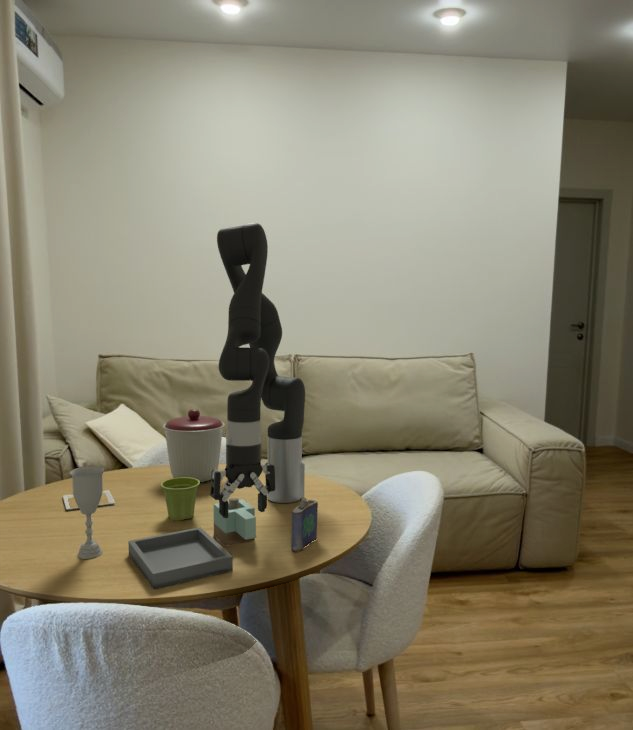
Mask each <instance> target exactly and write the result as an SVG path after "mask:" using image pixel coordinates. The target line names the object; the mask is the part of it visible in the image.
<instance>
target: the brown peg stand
mask: <svg viewBox="0 0 633 730" xmlns="http://www.w3.org/2000/svg"><path fill="white" fill-rule="evenodd" d="M228 501H229V510H232V509H238V508H239V498H237V497H229V498H228ZM213 537H215V539H217V540H218V541H219V542H220V543H221V544H223V545H224V546H225V547H229V546H233V545H238V544H244V543H248V542H252V541H255V540H256V538H252V539H247V540H245V539H244V538H243V537H242V536H241V535H239V534H238V533H237V532H236V531H234V532H229V533H225V532H224V531H222V530H221V529H220V528H219V527H218V526H217V525H215V524H214V523H213Z"/></svg>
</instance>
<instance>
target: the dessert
mask: <svg viewBox="0 0 633 730" xmlns="http://www.w3.org/2000/svg"><path fill="white" fill-rule="evenodd" d="M103 493H105V494H106V495H105V494H103ZM103 493H102V495H105V497H106V496H107V497H106V499H107V498H108V499H107V501H108V503H102V504H100V503H99V505H98V507H103V506H110V505H111V506H112V505H114V504H116V501H115V499H114V497H113V495H112V493H111V491H110V489H107V490H103ZM72 497H74V496H73V493H72V494H64V495H62V498H63V502H64V507H65V509H66V510H68V511H73V509H74V510H80V509H79V507H78V506H77V507H71V508H70V506H71V505H70V506H69V503H70V501H69V502H68V499H73V498H72Z"/></svg>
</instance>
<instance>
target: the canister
mask: <svg viewBox="0 0 633 730" xmlns="http://www.w3.org/2000/svg"><path fill="white" fill-rule="evenodd" d="M225 425H226V424H225V422H223V421H222V420H220V419H219V418H216V417H215V416H214V417H213V416H206V415H201V413H200V410H199V409H197V408H192V409H189V410H188V412H187V416H179V417H175V418H172V419H169V420H168V421H167V422H166V423H164V424H162V430H163V429H164V431H165V442H166V447H167V454H168V455H167V456H168V463H169V469H170V473H171V476H172V477H173V478H179V477H189V478H195V479H198V480H199V481H200V482H201V483H205V481H206V482H209V481H211V472H212V470H213V469H215V470H217V471H218V470H219V465H220V459H221V447H222V437H223V429H224V427H226V426H225Z"/></svg>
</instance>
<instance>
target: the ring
mask: <svg viewBox="0 0 633 730" xmlns="http://www.w3.org/2000/svg"><path fill="white" fill-rule="evenodd" d="M238 499H239V498H238ZM227 501H228V518H223V517H222V515H220V513H219V502H217V503H213V525H214V524H215V525H217V526H218V527H219V528H220V529H221V530H222V531H224V532H225V533H229V532H234V531H236V532H237V533H238V534H239V535H241V536H242V537H243V538H244V539H245V540H247V539H252V538H255V539H256V538H257V516H256V514H255V509H256V508H255V507H254V506H253V505H251V504H250V503H248V502H247V501H246V500H244V499H242V498H240V499H239V508H238V509H232V510H229V500H227Z"/></svg>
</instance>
